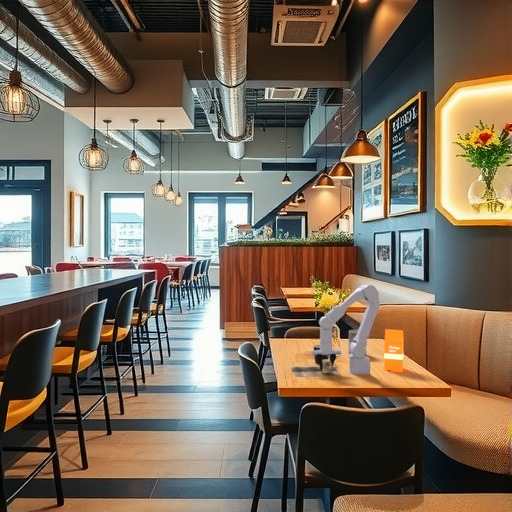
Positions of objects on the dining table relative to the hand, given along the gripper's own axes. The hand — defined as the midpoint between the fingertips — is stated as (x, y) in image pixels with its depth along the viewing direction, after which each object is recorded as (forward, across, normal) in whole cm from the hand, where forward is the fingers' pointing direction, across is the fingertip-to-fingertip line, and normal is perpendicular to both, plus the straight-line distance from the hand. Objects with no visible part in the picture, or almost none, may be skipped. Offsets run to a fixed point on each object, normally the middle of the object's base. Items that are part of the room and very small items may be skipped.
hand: (325, 370), depth 218 cm
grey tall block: (+3, -28, -42) cm, 51 cm away
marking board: (+3, +5, 0) cm, 6 cm away
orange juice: (+3, -37, -10) cm, 38 cm away
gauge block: (+1, 0, 0) cm, 1 cm away
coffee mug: (+3, -1, -18) cm, 19 cm away
